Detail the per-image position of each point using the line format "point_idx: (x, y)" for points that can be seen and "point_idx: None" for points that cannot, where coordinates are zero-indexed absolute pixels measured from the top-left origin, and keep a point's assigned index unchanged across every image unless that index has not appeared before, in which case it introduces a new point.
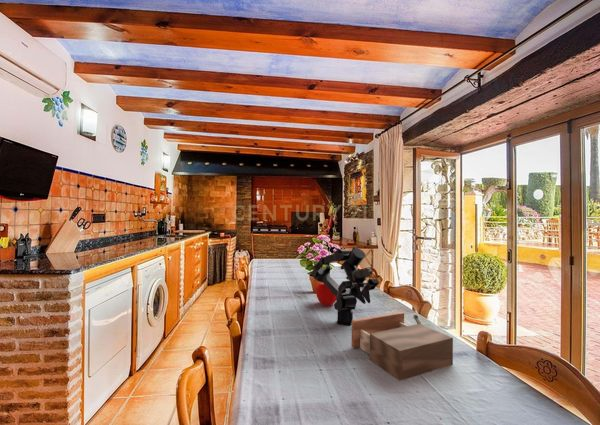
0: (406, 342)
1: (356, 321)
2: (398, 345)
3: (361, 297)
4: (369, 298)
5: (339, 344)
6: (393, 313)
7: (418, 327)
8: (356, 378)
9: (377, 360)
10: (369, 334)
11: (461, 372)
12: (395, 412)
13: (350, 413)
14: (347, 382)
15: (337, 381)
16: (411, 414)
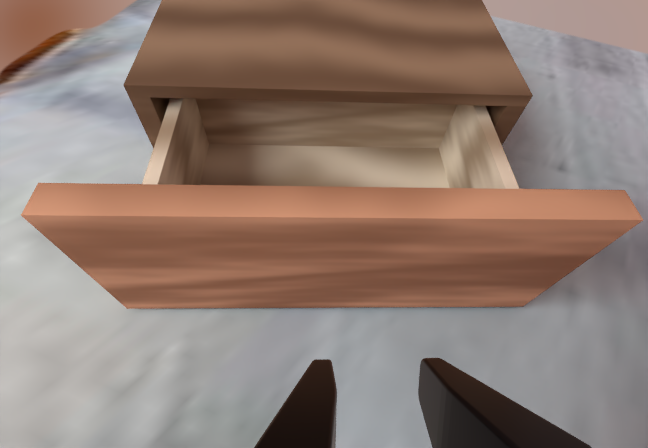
0: (402, 5)
1: (602, 191)
2: (453, 3)
3: (538, 428)
4: (308, 389)
5: (583, 377)
6: (142, 212)
7: (194, 60)
8: (570, 127)
9: None
10: (497, 152)
11: None
12: (516, 32)
13: (619, 56)
14: (605, 123)
15: (638, 136)
16: None
